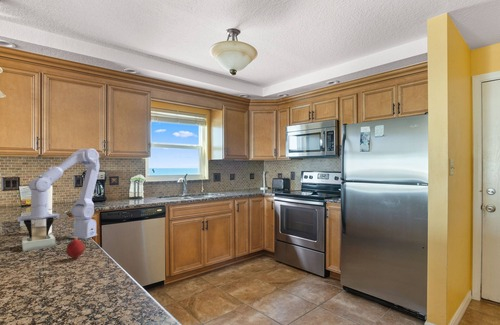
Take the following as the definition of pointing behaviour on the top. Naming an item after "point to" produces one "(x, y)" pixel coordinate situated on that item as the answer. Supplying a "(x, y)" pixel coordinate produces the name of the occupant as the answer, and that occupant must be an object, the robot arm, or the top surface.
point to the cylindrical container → (49, 210)
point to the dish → (38, 243)
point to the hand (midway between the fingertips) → (38, 236)
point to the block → (38, 233)
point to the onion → (75, 248)
